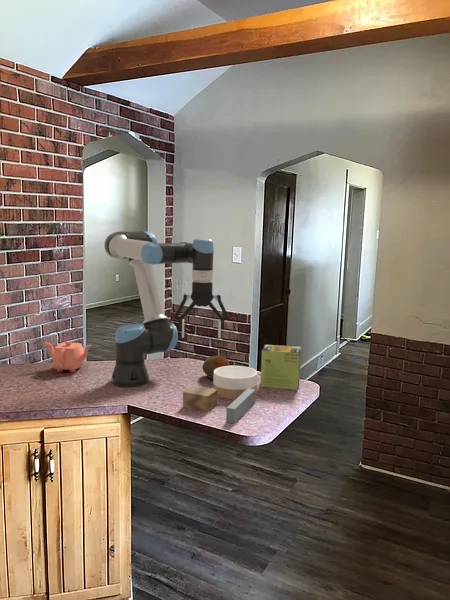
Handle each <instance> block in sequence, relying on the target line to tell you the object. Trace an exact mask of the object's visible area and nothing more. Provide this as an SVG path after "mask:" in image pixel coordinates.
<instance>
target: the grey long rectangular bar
mask: <svg viewBox="0 0 450 600" xmlns="http://www.w3.org/2000/svg"><path fill="white" fill-rule="evenodd" d="M256 395H257V394H256V389H250V388H248V389H247V390H246V391H244V392H243V393H242V394H241V395H240V396H239V397H238V398H237V399H234V400H233V401H232V402H231V403H230V404H229V405H228V406H227V407H226V413H225V414H226V420H225V422H226V423H231V424H236V423H237V421H239V420H240V419H241V418H242V416H244V414H245V413H246V412H247V411H248V410H249V409H250V408H251V407H252V406H253V405H254V404H256Z"/></svg>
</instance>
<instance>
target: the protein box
mask: <svg viewBox="0 0 450 600" xmlns="http://www.w3.org/2000/svg"><path fill="white" fill-rule="evenodd" d="M301 349H302V346H295V345H294V346H293V345H292V346H291V345H277V344H275V345H274V344H264V346H263V348H262V349H261V359H260V361H261V362H260V363H261V365H260V388H271V389H279V390H281V389H282V390H283V389H284V390H290V389H291V390H293V391H298V390H299V386H300V379H301V378H300V377H301V352H302V351H301Z"/></svg>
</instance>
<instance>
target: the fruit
mask: <svg viewBox="0 0 450 600" xmlns="http://www.w3.org/2000/svg"><path fill="white" fill-rule="evenodd" d="M223 366H231V364H230V362H229V360H228V359H227V358H226V357H225V356H223V355H212V356H210V357H208V358H207V359H206V360H204V362H203V364H202V371H203V372H204V373H205V375H207V377H209V378H211V379H213V377H214V370H215V369H217V368H219V367H223Z"/></svg>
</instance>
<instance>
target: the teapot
mask: <svg viewBox="0 0 450 600" xmlns="http://www.w3.org/2000/svg"><path fill="white" fill-rule="evenodd" d="M44 343H45V345H47V346H48V350H49V355H50V358H51V359H52V367H53V369H54V370H56V372H57V373H58V372H59V373H60V372H63V371H64V370H66V371H67V370H69V373H77V369H82V366H83V365H84V364H85V360H86V359H87V358H88V354H89V350H90V348H91V347H93V344H87V345H86V346H85V348H84V347H83V344H82V342H81V343H80V342H73V341H71V340H66V341H64V342H62V343H60V344H57V345H56V346H55V348H54V346H53V344H52V343H50V342H48V341H46V342H44Z"/></svg>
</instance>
